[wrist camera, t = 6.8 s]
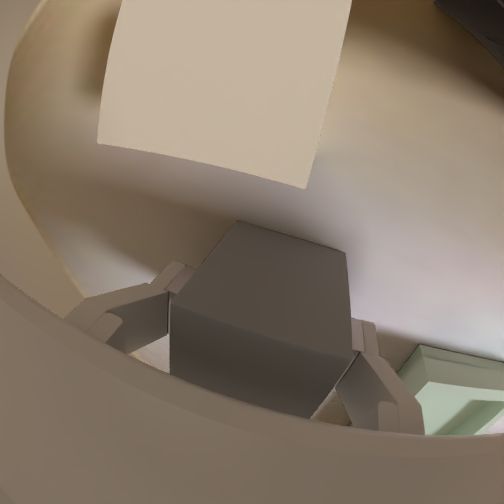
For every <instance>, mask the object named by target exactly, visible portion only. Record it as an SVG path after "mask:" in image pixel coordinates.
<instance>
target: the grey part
mask: <svg viewBox="0 0 504 504" xmlns="http://www.w3.org/2000/svg"><path fill="white" fill-rule="evenodd" d="M352 360H353V351H352V326H351V309H350V295H349V283H348V272H347V262H346V253H344V252H341V251H337V250H334V249H331V248H328V247H325V246H321V245H318V244H315V243H312V242H308V241H305V240H302V239H298V238H295V237H292V236H288V235H285V234H282V233H278V232H275V231H272V230H268V229H265V228H261V227H258V226H255V225H251V224H248V223H244V222H241V221H236V222H235V223H234V225H233V226H232V227H231V228H230V229H229V231H228V232H227V233H226V234H225V235H224V237H223V238H222V239H221V240H220V242H219V243H218V244H217V245H216V246H215V248H214V249H213V250H212V251H211V253H210V254H209V255H208V256H207V258H206V259H205V260H204V261H203V262H202V264H201V265H200V266H199V267H198V269H197V270H196V271H195V272H194V274H193V275H192V276H191V277H190V279H189V280H188V281H187V283H186V284H185V285H184V286H183V288H182V289H181V290H180V291H179V293H178V294H177V295H176V296H175V298H174V299H173V300H172V302H171V303H170V374H171V375H173V376H176V377H178V378H180V379H183V380H185V381H188V382H190V383H193V384H195V385H198V386H201V387H203V388H206V389H209V390H211V391H214V392H217V393H220V394H223V395H226V396H229V397H232V398H235V399H238V400H241V401H244V402H247V403H250V404H254V405H257V406H261V407H264V408H268V409H271V410H275V411H279V412H282V413H286V414H290V415H294V416H299V417H303V418H307V419H310V417H311V416H312V415H313V414H314V412H315V411H316V410H317V409H318V407H319V406H320V405H321V403H322V402H323V401H324V399H325V398H326V397H327V395H328V394H329V393H330V391H331V390H332V389H333V387H334V386H335V385H336V383H337V382H338V380H339V379H340V378H341V376H342V375H343V373H344V372H345V370H346V369H347V367H348V366H349V364H350V363H351V362H352Z"/></svg>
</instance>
